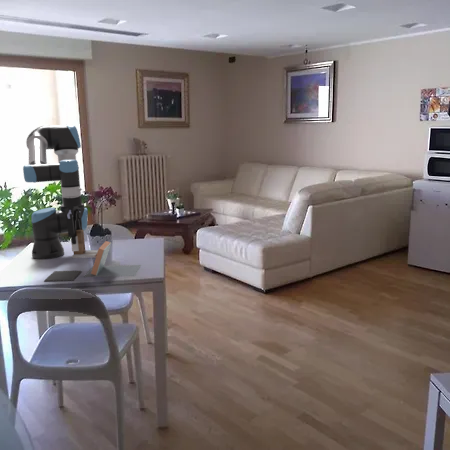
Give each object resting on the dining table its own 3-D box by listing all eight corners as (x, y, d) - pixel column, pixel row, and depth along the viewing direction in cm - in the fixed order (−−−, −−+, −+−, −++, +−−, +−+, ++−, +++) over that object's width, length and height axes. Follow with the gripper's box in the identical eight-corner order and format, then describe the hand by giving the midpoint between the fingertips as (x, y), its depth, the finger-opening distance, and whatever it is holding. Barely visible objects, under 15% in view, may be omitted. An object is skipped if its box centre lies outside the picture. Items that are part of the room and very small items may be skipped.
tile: (98, 265, 212) (105, 241, 209) (103, 266, 212) (111, 242, 209) (91, 273, 200) (98, 248, 198) (96, 275, 200) (104, 250, 198)
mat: (93, 267, 214) (93, 266, 214) (141, 265, 213) (141, 264, 213) (83, 278, 199) (83, 277, 199) (135, 276, 199) (134, 275, 199)
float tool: (78, 252, 208) (75, 228, 206) (100, 252, 208) (98, 228, 206) (72, 258, 201) (69, 233, 198) (95, 257, 200) (93, 232, 198)
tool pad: (54, 273, 206) (54, 271, 206) (81, 272, 206) (81, 270, 206) (44, 282, 195) (44, 280, 195) (73, 282, 195) (72, 279, 194)
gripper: (74, 199, 190) (79, 254, 195) (86, 193, 207) (91, 244, 212) (55, 200, 190) (61, 255, 196) (69, 193, 207) (75, 244, 212)
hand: (77, 249), depth 204 cm, fingers closed on float tool, 4 cm apart
